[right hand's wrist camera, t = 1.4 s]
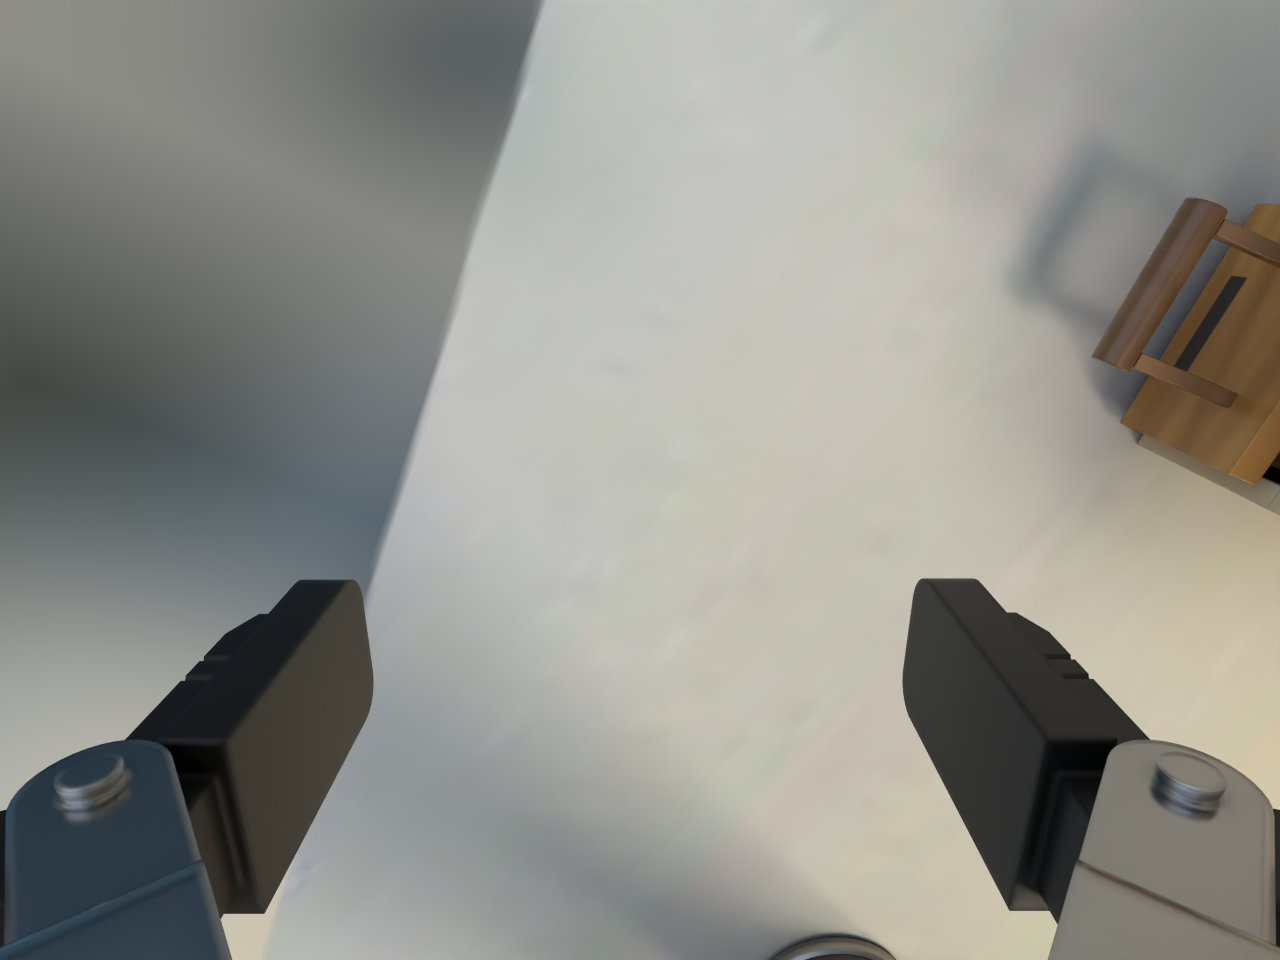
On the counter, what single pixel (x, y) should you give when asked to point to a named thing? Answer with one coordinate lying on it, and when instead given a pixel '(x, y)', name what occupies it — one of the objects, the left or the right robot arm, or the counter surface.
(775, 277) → the counter surface
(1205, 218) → the drawer
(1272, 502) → the cabinet
